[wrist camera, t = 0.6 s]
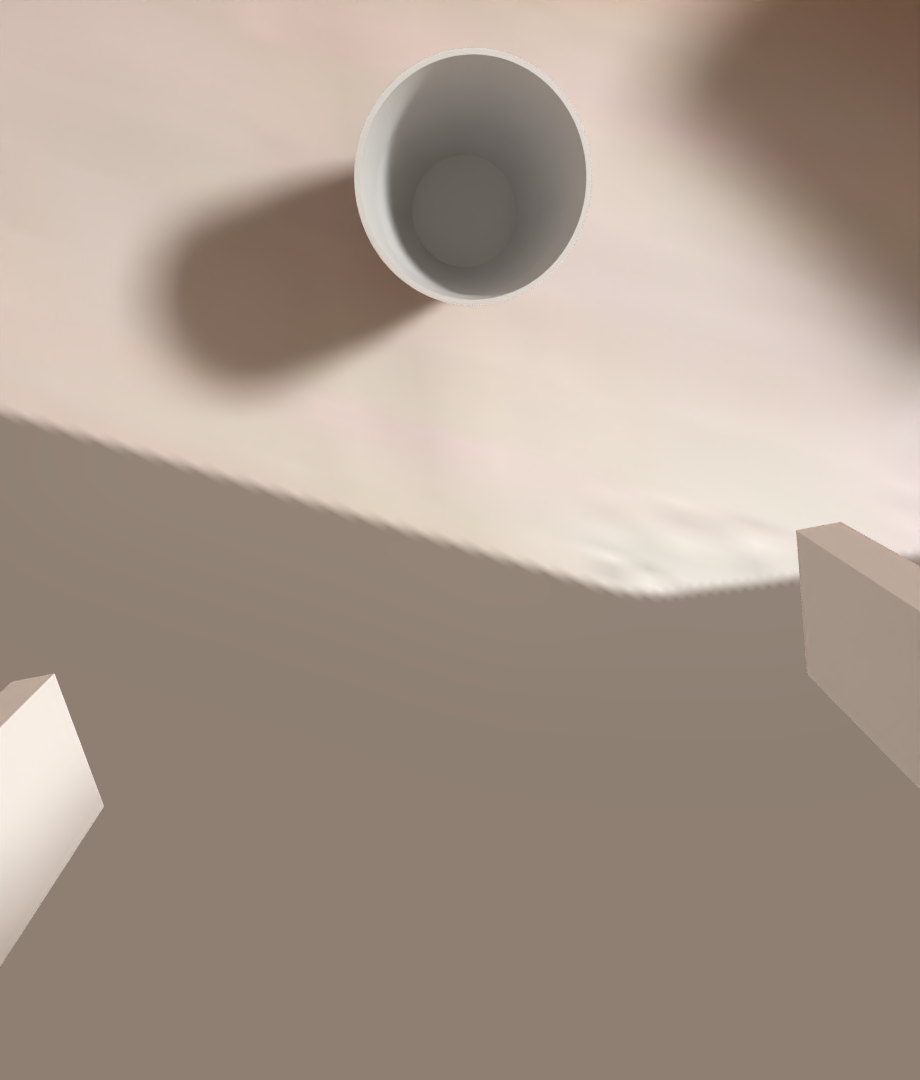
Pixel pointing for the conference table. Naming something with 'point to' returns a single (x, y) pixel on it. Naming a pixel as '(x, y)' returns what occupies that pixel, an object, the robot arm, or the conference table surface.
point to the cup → (473, 176)
